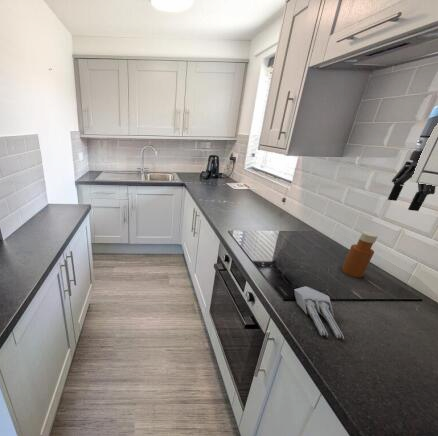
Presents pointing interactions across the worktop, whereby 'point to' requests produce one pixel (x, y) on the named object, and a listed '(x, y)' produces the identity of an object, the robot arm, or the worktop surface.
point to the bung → (368, 237)
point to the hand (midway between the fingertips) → (401, 204)
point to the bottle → (358, 259)
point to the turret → (317, 309)
